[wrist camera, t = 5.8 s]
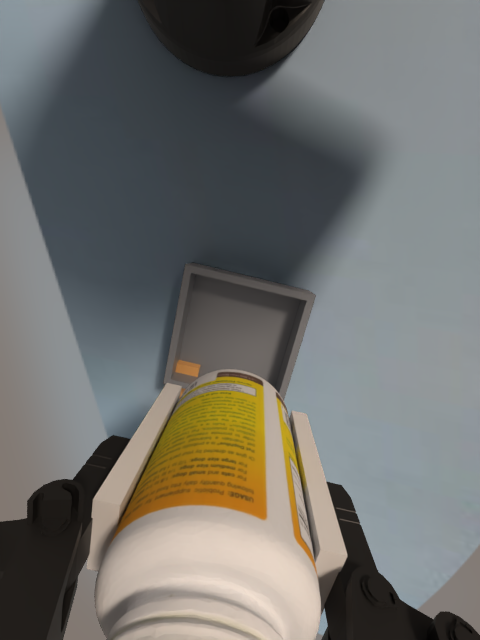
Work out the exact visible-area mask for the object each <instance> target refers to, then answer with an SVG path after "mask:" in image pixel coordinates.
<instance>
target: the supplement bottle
mask: <svg viewBox="0 0 480 640" xmlns="http://www.w3.org/2000/svg"><path fill="white" fill-rule="evenodd" d="M95 608H96V614H97V618H98V621H99V624H100V626H101V628H102V630H103V632H104V635H105V636H106V638H107V639H106V640H315V637H316V635H317V632H318V629H319V623H320V616H321V598H320V591H319V582H318V576H317V570H316V566H315V560H314V554H313V549H312V542H311V538H310V532H309V526H308V521H307V515H306V510H305V504H304V499H303V493H302V487H301V481H300V476H299V470H298V465H297V460H296V454H295V448H294V442H293V438H292V432H291V427H290V421H289V417H288V412H287V408H286V406H285V403H284V401H283V399H282V397H281V396H280V394H279V393H278V392H277V391H276V389H275V388H274V387H273V386H272V385H271V384H270V383H268V382H267V381H266V380H264V379H263V378H261V377H259V376H257V375H255V374H253V373H250V372H246V371H243V370H236V369H222V370H217V371H213V372H210V373H207V374H205V375H203V376H201V377H199V378H198V379H196V380H195V381H194V382H192V383H191V384H190V385H189V386H188V387H187V388H186V390H185V391H184V392H183V394H182V396H181V397H180V399H179V401H178V403H177V405H176V407H175V409H174V411H173V413H172V415H171V417H170V420H169V422H168V424H167V426H166V428H165V430H164V432H163V434H162V436H161V438H160V440H159V442H158V445H157V447H156V449H155V451H154V453H153V455H152V457H151V459H150V461H149V463H148V465H147V467H146V469H145V471H144V474H143V476H142V478H141V480H140V482H139V484H138V486H137V488H136V490H135V492H134V495H133V497H132V499H131V501H130V503H129V505H128V507H127V509H126V512H125V514H124V516H123V518H122V520H121V522H120V524H119V526H118V528H117V530H116V532H115V535H114V537H113V539H112V541H111V543H110V545H109V547H108V549H107V551H106V554H105V556H104V558H103V561H102V563H101V566H100V569H99V572H98V575H97V579H96V586H95Z"/></svg>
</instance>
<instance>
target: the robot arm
mask: <svg viewBox="0 0 480 640" xmlns="http://www.w3.org/2000/svg"><path fill="white" fill-rule="evenodd" d="M324 1H325V0H138V2H139V5H140V7H141V9H142V11H143V13H144V15H145V17H146V19H147V21H148V23H149V25H150V27H151V28H152V30H153V31H154V33H155V34H156V36H157V37H158V38H159V40H160V41H161V42H162V43H163V44H164V46H165V47H166V48H167V49H168V50H169V51H170V52H171V53H172V54H174V55H175V56H176V57H177V58H179V59H180V60H181V61H183V62H184V63H186V64H188V65H189V66H191V67H193V68H195V69H197V70H200V71H202V72H205V73H209V74H213V75H218V76H242V75H247V74H251V73H255V72H258V71H260V70H263V69H265V68H267V67H269V66H271V65H273V64H274V63H276V62H278V61H279V60H280V59H282V58H283V57H284V56H286V55H287V54H288V53H289V52H290V51H292V50H293V49H294V48H295V47H296V46H297V45H298V43H299V42H300V41H301V40H302V39H303V37H304V36H305V35H306V34H307V32H308V31H309V29H310V28H311V26H312V25H313V23H314V21H315V20H316V18H317V16H318V14H319V12H320V10H321V8H322V5H323V3H324ZM181 388H182V386H179V385H175V384H170V383H166V385H165V386H164V388H163V390H162V391H161V393H160V394H159V396H158V398H157V399H156V401H155V402H154V404H153V405H152V407H151V409H150V410H149V412H148V413H147V415H146V416H145V418H144V420H143V421H142V423H141V424H140V426H139V427H138V429H137V431H136V432H135V434H134V435H133V437H132V439H128V438H123V437H119V436H114V435H113V436H111V437H109V438H108V439H106V440H105V441H103V442H102V443H101V444H100V445H99V446H98V448H97V449H96V450H95V451H94V453H93V455H92V456H91V457H90V458H89V459H88V460H87V462H86V464H85V465H84V466H83V467H82V468H81V470H80V471H79V472H78V473H77V475H76V476H75V477H74V479H73V480H68V479H62V480H56V481H53V482H50V483H48V484H46V485H43V486H42V487H41V488H40V489H38V490H37V491H36V492H34V493H33V495H32V496H31V497H30V498H29V500H28V501H27V502H28V503H27V506H28V507H27V518H26V519H21V520H13V521H4V522H0V640H63V637H64V634H65V630H66V626H67V622H68V618H69V615H70V611H71V607H72V603H73V600H74V596H75V592H76V588H77V581H78V575H79V573H80V571H81V569H82V567H83V565H84V563H85V562H86V560H87V558H88V561H87V569H89V570H94V571H98V572H99V569H100V566H101V563H102V561H103V558H104V556H105V554H106V551H107V549H108V547H109V545H110V543H111V541H112V539H113V537H114V535H115V532H116V530H117V528H118V526H119V524H120V522H121V520H122V518H123V516H124V514H125V512H126V509H127V507H128V505H129V503H130V501H131V499H132V497H133V495H134V492H135V490H136V488H137V486H138V484H139V482H140V480H141V478H142V476H143V474H144V471H145V469H146V467H147V465H148V463H149V461H150V459H151V457H152V455H153V453H154V451H155V449H156V447H157V445H158V442H159V440H160V438H161V436H162V434H163V432H164V430H165V428H166V426H167V424H168V422H169V420H170V417H171V415H172V413H173V411H174V409H175V407H176V405H177V403H178V401H179V399H180V393H181ZM289 421H290V427H291V432H292V438H293V442H294V448H295V454H296V460H297V465H298V470H299V476H300V481H301V487H302V493H303V499H304V504H305V510H306V515H307V521H308V526H309V532H310V538H311V542H312V549H313V554H314V560H315V566H316V570H317V576H318V582H319V591H320V598H321V614H322V612H323V610H324V608H325V612H326V618H327V623H328V627H327V629H326V631H325V633H324V635H323V637H322V640H480V635H479V634H478V633H477V632H476V631H475V630H474V629H473V627H472V626H471V625H469V624H468V623H467V622H465V621H464V620H463V619H462V618H460V617H459V616H456V615H455V614H452V613H450V612H440V613H439V614H438V615H436V617H435V618H434V620H433V619H432V618H430V617H428V616H426V615H425V614H423V613H421V612H419V611H418V610H416V609H414V608H412V607H411V606H409V605H407V604H406V603H404V602H403V601H402V600H400V599H399V597H398V595H397V593H396V592H395V590H394V588H393V587H392V585H391V584H390V583H389V582H388V581H387V580H386V579H385V578H384V577H383V575H381V574H380V573H379V572H378V570H377V568H376V565H375V562H374V560H373V557H372V554H371V552H370V549H369V546H368V543H367V541H366V538H365V535H364V533H363V530H362V527H361V525H360V522H359V519H358V516H357V514H356V513H355V512H356V511H355V508H354V505H353V503H352V500H351V497H350V496H349V495H348V493H347V492H346V491H345V489H344V488H343V487H342V485H338V484H334V483H330V482H326V479H325V476H324V472H323V469H322V465H321V462H320V458H319V455H318V451H317V448H316V445H315V441H314V438H313V434H312V431H311V427H310V424H309V420H308V417H307V414H305V413H300V412H296V411H291V415H290V418H289ZM320 617H321V616H320Z"/></svg>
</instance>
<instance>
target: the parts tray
mask: <svg viewBox="0 0 480 640" xmlns="http://www.w3.org/2000/svg"><path fill="white" fill-rule="evenodd" d="M315 297H316V295H314V294H313V293H312V292H310V291H308V290H304V289H300V288H296V287H292V286H288V285H284V284H279V283H275V282H271V281H267V280H263V279H259V278H255V277H250V276H246V275H242V274H238V273H234V272H230V271H226V270H222V269H217V268H213V267H209V266H205V265H201V264H197V263H188V264H185V268H184V273H183V279H182V284H181V290H180V295H179V301H178V306H177V311H176V317H175V322H174V328H173V333H172V339H171V344H170V349H169V355H168V360H167V366H166V371H165V377H164V382H163V384H166V383H170V384H175V385H179V386H182V388H183V389H186V388H187V387H188V386H189V385H190V384H191V383H192V382H194V381H195V380H196V379H198V378H199V377H201V376H203V375H205V374H207V373H210V372H213V371H217V370H222V369H236V370H243V371H246V372H250V373H253V374H255V375H257V376H259V377H261V378H263V379H264V380H266V381H267V382H268V383H270V384H271V385H272V386H273V387H274V388H275V389H276V391H277V392H278V393H279V394H280V396H281V397H282V399H283V401H284V398H285V395H286V392H287V388H288V385H289V382H290V378H291V375H292V372H293V369H294V365H295V362H296V359H297V356H298V352H299V349H300V346H301V342H302V339H303V336H304V333H305V329H306V326H307V323H308V320H309V316H310V313H311V310H312V307H313V303H314V300H315ZM179 360H182V361H186V362H191V363H195V364H199V365H200V370H199V374H198V377H195V376H191V375H186V374H182V373H177V372H175V371H176V366H177V362H178V361H179Z"/></svg>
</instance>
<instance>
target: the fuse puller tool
mask: <svg viewBox="0 0 480 640" xmlns="http://www.w3.org/2000/svg"><path fill="white" fill-rule="evenodd" d="M199 370H200V365H199V364H195V363H191V362H186V361H182V360H179V361H178V362H177V366H176V371H175V372H177V373H182V374H186V375H191V376H195V377H198V374H199ZM185 390H186V389H183V388H181V393H180V397H181V396H182V394H183V392H184V391H185Z"/></svg>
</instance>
